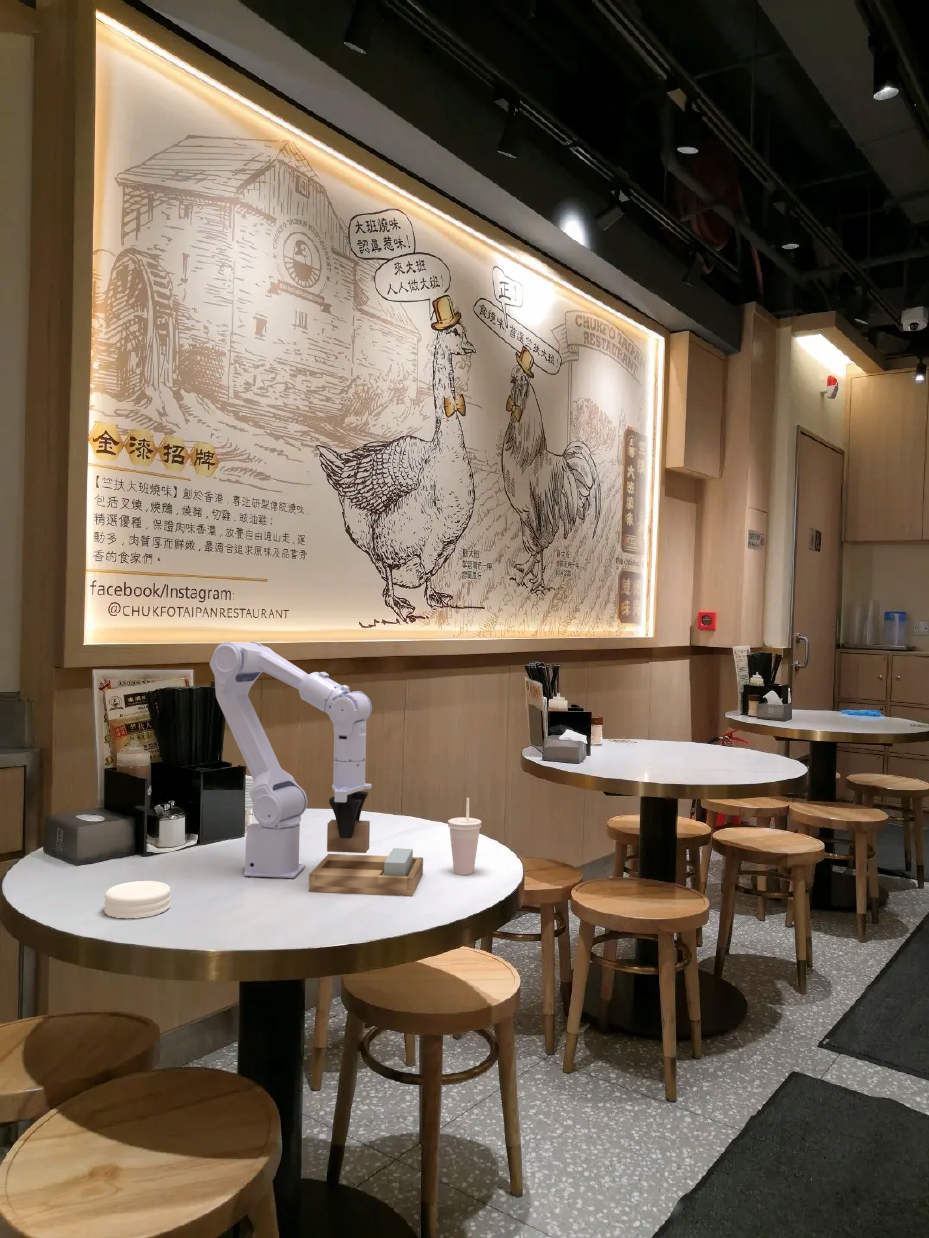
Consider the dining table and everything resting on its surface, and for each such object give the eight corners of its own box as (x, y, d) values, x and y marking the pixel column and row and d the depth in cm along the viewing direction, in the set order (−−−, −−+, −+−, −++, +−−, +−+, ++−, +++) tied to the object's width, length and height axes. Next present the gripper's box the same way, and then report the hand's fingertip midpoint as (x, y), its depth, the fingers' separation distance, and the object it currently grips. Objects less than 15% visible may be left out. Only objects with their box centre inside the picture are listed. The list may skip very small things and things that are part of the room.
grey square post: (383, 885, 154) (384, 862, 154) (393, 869, 164) (393, 848, 164) (404, 886, 153) (404, 862, 153) (412, 870, 163) (412, 848, 163)
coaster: (100, 906, 144) (101, 884, 144) (164, 898, 148) (164, 876, 148) (108, 924, 135) (109, 901, 135) (176, 915, 140) (176, 892, 140)
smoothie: (477, 878, 163) (478, 801, 163) (443, 875, 164) (444, 799, 164) (483, 869, 169) (484, 795, 169) (450, 866, 170) (452, 793, 170)
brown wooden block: (326, 851, 158) (327, 823, 158) (331, 846, 161) (331, 819, 161) (365, 853, 157) (366, 824, 157) (369, 848, 161) (369, 820, 161)
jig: (308, 891, 153) (309, 874, 153) (327, 869, 167) (328, 853, 167) (412, 895, 151) (412, 878, 151) (422, 873, 165) (423, 857, 165)
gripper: (363, 766, 152) (362, 845, 152) (378, 754, 166) (377, 826, 166) (323, 764, 152) (321, 844, 152) (341, 753, 167) (340, 825, 167)
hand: (348, 835), depth 159 cm, fingers closed on brown wooden block, 3 cm apart
